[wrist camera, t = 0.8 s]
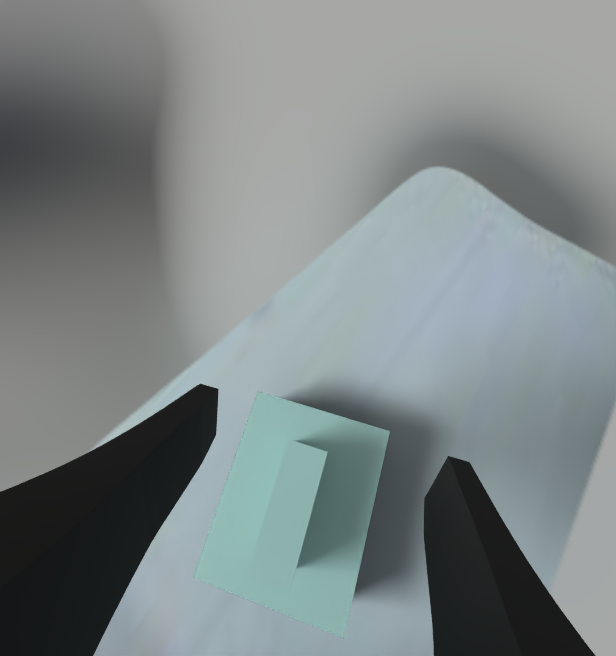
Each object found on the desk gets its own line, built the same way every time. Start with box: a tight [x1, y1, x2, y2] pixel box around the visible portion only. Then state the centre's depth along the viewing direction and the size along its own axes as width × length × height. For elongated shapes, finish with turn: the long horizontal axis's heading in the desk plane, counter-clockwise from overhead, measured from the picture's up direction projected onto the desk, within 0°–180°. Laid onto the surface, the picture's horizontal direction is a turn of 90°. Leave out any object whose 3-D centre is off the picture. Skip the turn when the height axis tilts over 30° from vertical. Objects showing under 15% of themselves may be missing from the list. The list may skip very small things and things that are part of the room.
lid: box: [193, 391, 390, 638], centre depth 18 cm, size 10×8×5 cm
